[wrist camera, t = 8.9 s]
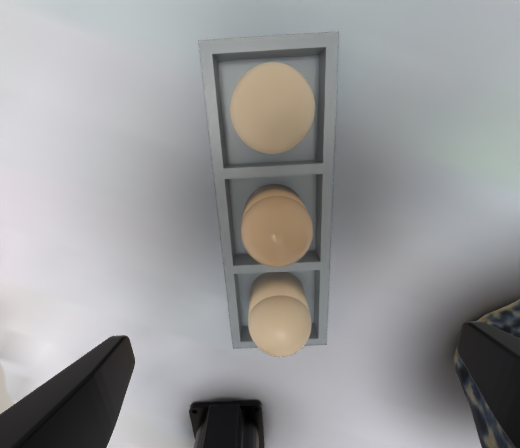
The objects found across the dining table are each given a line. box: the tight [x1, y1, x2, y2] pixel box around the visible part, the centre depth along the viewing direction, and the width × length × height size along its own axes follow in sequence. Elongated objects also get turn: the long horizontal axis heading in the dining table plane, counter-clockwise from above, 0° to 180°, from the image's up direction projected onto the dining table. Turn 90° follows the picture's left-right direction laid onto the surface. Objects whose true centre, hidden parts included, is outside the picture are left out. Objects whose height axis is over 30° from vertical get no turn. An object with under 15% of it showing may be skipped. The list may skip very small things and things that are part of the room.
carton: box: [198, 32, 339, 357], centre depth 16 cm, size 19×7×6 cm, turn 3°
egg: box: [241, 184, 313, 267], centre depth 16 cm, size 4×4×5 cm
